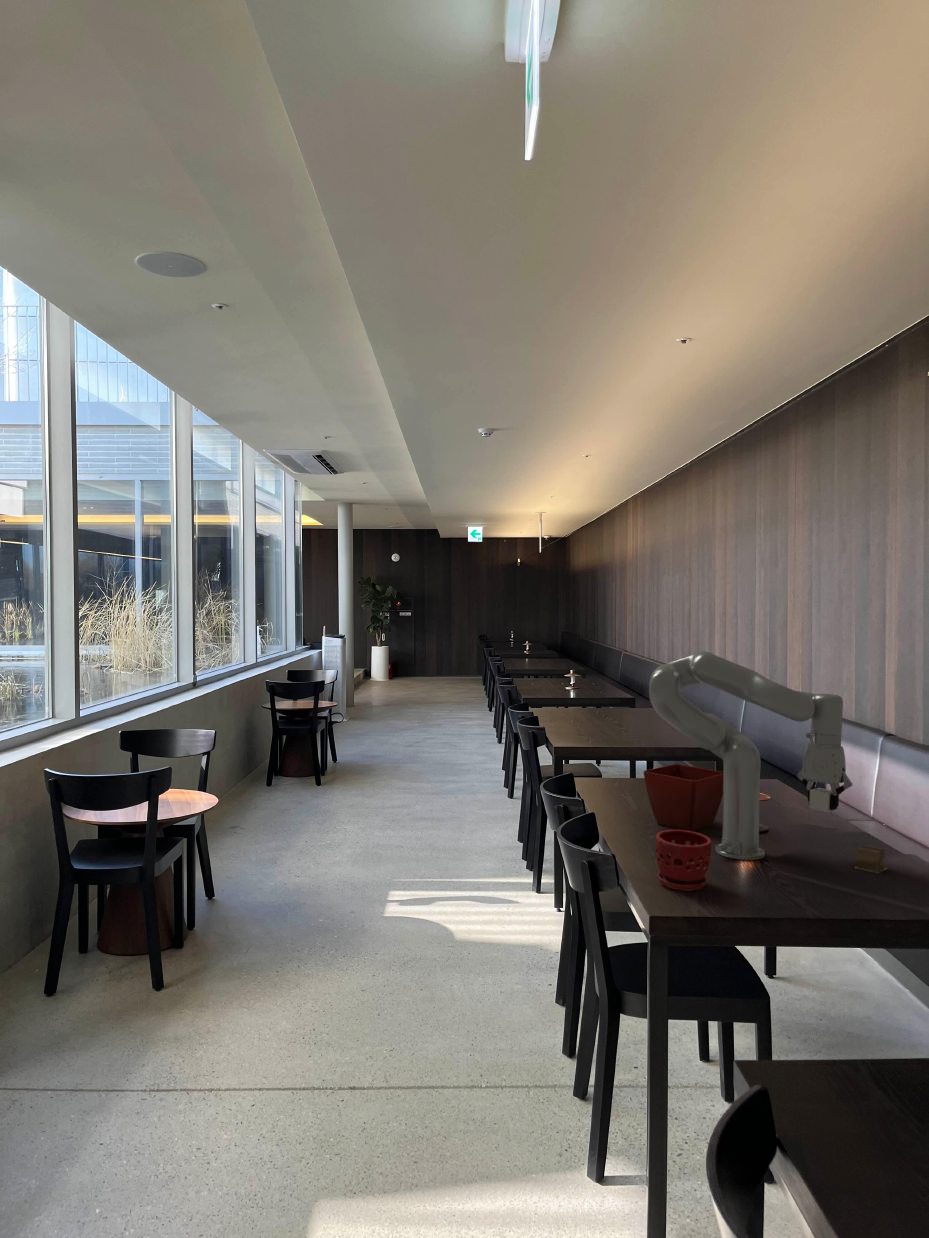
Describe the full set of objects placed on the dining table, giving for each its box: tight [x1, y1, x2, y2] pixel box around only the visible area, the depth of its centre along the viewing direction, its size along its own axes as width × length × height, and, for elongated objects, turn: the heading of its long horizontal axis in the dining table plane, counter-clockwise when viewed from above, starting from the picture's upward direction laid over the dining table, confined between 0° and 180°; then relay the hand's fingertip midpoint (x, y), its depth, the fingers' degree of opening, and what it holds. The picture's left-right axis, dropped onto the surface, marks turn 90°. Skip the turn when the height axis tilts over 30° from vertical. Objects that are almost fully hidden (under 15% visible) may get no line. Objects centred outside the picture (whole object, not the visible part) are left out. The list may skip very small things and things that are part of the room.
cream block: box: [808, 787, 837, 813], centre depth 217 cm, size 5×5×5 cm
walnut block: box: [856, 844, 886, 873], centre depth 207 cm, size 5×5×5 cm
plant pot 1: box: [643, 763, 723, 832], centre depth 253 cm, size 19×19×17 cm
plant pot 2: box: [655, 829, 712, 892], centre depth 196 cm, size 13×13×12 cm
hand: (822, 806), depth 217 cm, fingers closed on cream block, 5 cm apart
